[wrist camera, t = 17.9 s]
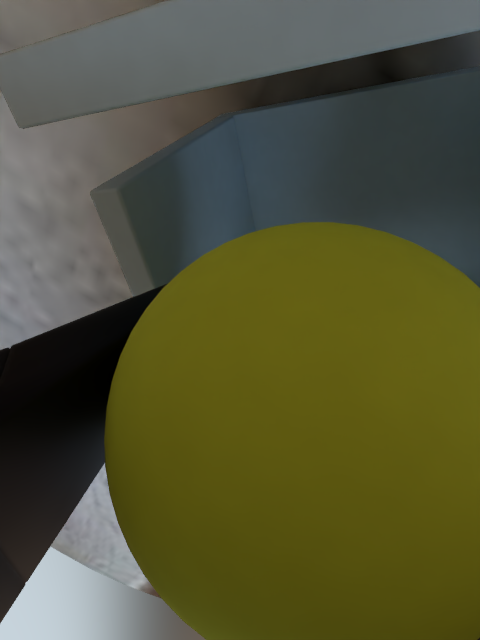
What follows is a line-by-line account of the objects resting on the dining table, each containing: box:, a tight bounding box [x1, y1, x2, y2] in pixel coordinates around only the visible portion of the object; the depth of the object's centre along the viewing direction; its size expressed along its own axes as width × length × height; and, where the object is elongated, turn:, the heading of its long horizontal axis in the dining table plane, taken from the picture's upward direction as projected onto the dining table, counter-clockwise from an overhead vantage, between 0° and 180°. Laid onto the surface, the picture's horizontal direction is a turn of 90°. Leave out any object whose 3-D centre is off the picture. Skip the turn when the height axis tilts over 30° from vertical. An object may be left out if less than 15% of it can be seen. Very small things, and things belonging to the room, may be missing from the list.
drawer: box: [0, 0, 480, 297], centre depth 12 cm, size 15×12×9 cm
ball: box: [104, 222, 480, 640], centre depth 6 cm, size 6×6×6 cm
